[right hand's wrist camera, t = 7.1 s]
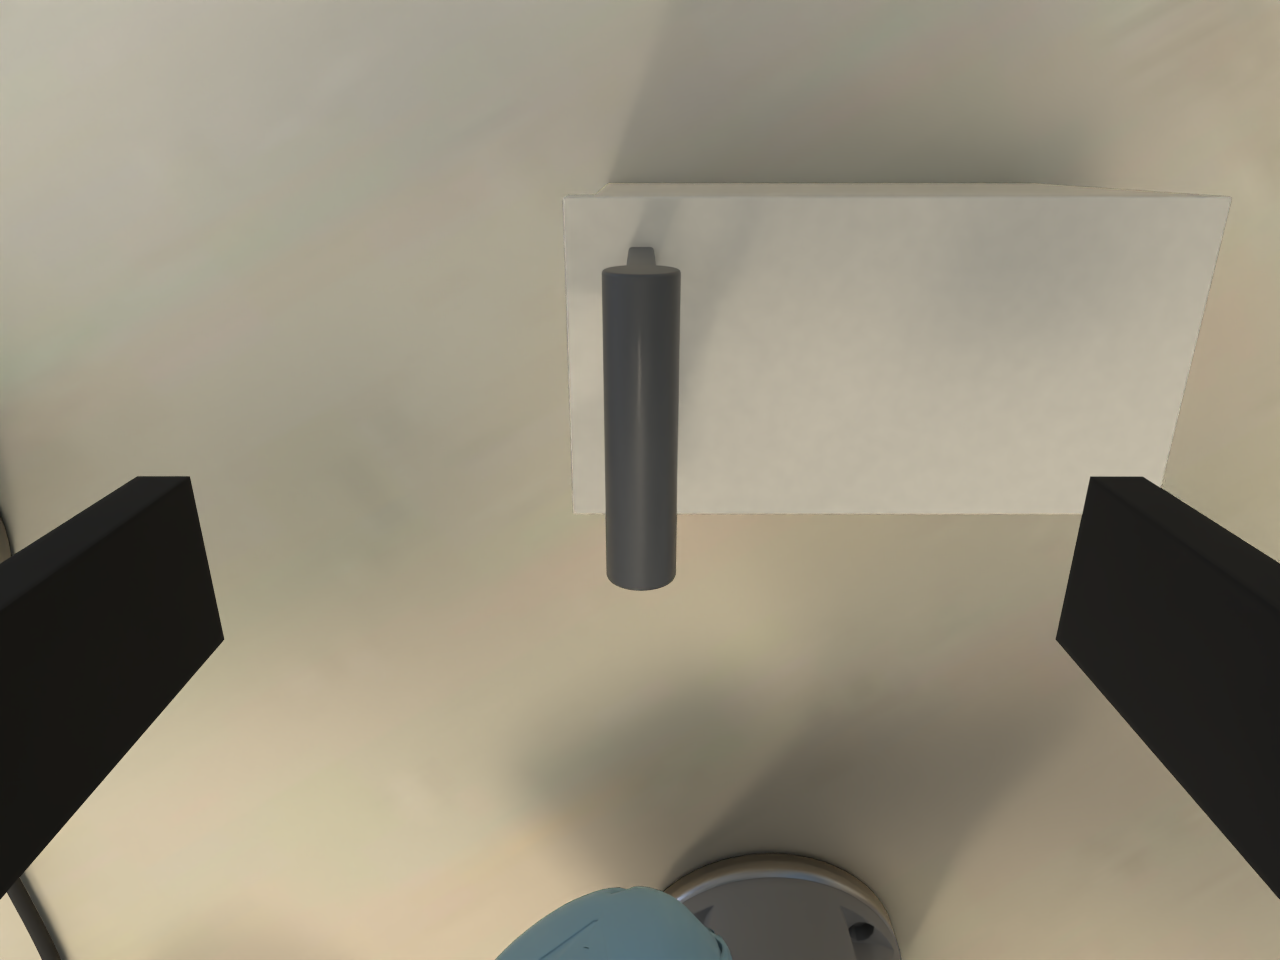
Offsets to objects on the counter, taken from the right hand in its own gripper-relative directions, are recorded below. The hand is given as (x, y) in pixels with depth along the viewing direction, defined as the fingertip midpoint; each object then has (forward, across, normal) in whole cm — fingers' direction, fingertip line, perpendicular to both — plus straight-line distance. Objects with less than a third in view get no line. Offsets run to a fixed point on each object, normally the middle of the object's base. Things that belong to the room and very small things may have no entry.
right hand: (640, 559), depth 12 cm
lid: (+13, -7, 0) cm, 15 cm away
